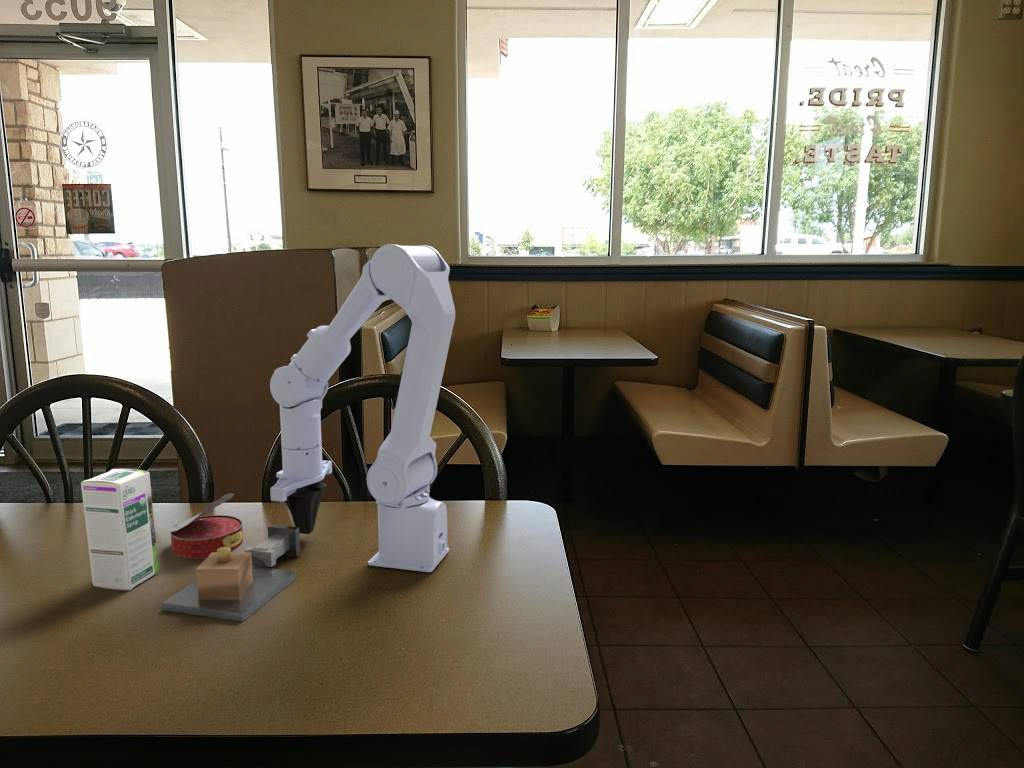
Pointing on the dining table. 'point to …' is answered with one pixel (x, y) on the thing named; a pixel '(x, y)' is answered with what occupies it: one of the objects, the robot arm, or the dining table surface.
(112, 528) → the syrup box
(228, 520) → the canned food
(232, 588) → the block
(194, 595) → the grey square baseplate
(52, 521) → the dining table surface
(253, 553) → the square end dumbbell
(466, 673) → the dining table surface
